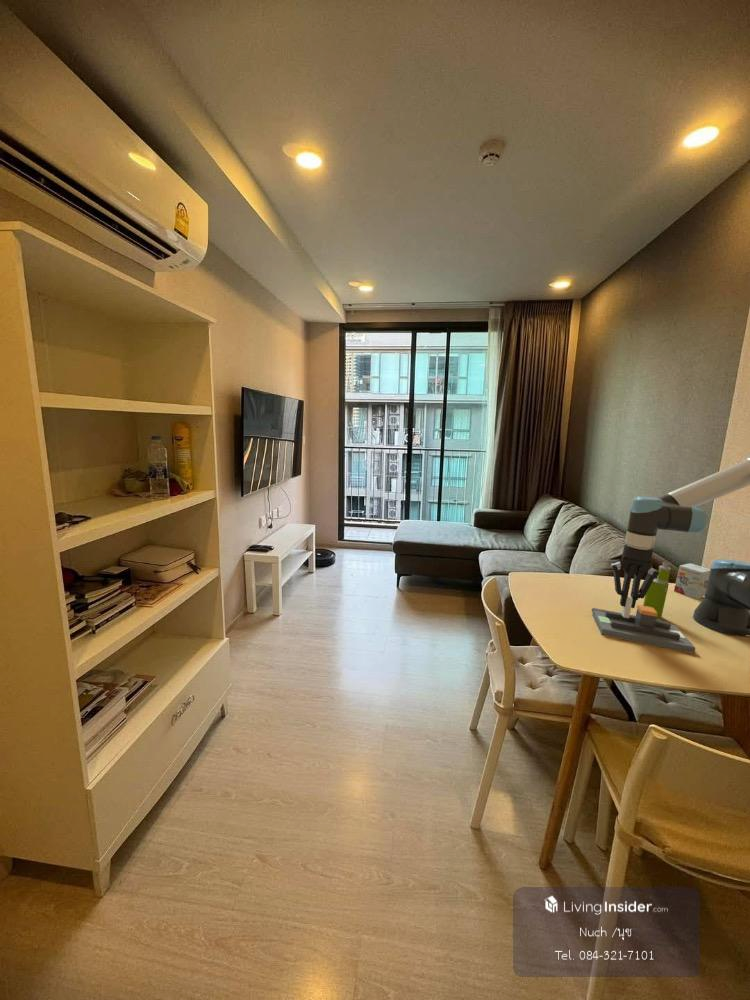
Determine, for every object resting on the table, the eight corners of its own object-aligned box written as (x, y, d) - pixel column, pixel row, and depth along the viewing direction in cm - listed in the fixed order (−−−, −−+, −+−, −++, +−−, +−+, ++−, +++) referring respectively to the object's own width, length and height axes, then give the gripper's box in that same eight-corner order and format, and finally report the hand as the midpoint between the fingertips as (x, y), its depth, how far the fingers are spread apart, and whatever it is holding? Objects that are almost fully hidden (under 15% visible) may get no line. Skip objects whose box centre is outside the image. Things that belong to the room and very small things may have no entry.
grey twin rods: (665, 624, 127) (666, 620, 127) (669, 628, 124) (670, 624, 124) (590, 610, 134) (591, 606, 134) (592, 614, 132) (593, 610, 131)
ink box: (672, 591, 158) (678, 564, 156) (684, 588, 161) (690, 562, 159) (697, 599, 150) (703, 571, 148) (708, 597, 154) (714, 569, 152)
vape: (658, 619, 131) (669, 564, 127) (639, 611, 136) (650, 559, 132) (663, 617, 132) (675, 563, 129) (645, 609, 138) (656, 558, 134)
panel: (674, 630, 123) (676, 620, 122) (693, 653, 110) (696, 642, 109) (592, 615, 131) (593, 605, 130) (601, 634, 118) (603, 624, 117)
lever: (649, 625, 121) (652, 607, 120) (653, 631, 117) (657, 613, 116) (633, 622, 122) (637, 604, 121) (638, 628, 118) (641, 610, 117)
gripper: (658, 546, 118) (644, 615, 122) (611, 540, 122) (599, 607, 127) (668, 552, 111) (652, 625, 115) (617, 546, 115) (604, 616, 120)
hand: (625, 615), depth 121 cm, fingers closed
